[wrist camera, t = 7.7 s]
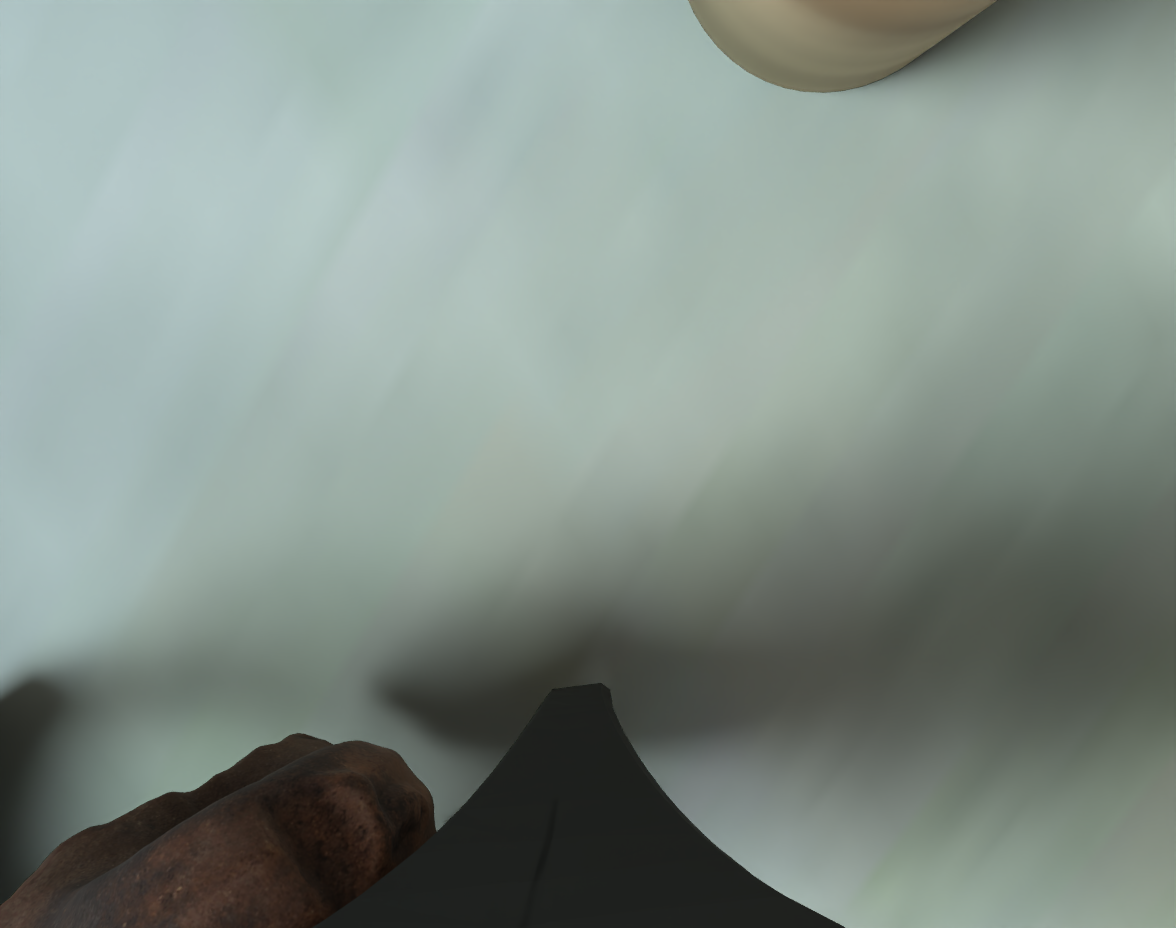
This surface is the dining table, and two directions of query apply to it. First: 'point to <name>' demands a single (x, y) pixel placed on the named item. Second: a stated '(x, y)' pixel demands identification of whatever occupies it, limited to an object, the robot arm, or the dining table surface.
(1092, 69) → the dining table surface
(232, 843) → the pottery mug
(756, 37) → the oak dowel
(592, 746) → the robot arm
